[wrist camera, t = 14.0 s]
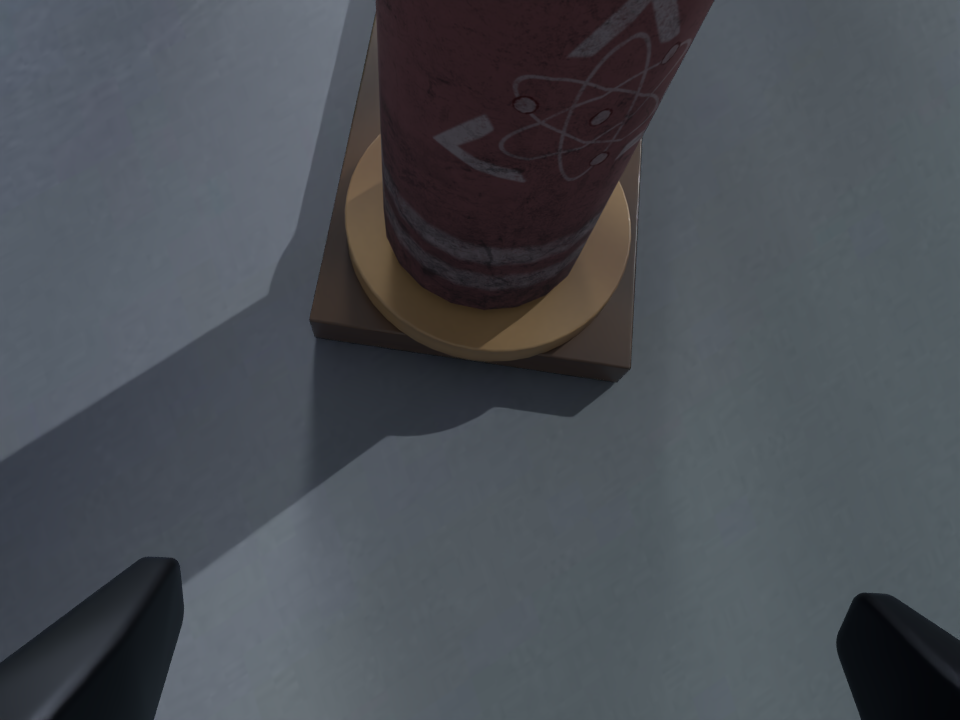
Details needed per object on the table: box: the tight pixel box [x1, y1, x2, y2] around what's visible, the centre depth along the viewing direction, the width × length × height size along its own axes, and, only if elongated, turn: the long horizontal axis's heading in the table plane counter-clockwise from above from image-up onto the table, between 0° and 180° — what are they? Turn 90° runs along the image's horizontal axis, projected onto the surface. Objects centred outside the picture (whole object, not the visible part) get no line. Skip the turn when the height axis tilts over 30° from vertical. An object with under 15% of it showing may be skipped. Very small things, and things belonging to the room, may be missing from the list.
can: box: [376, 0, 714, 310], centre depth 15 cm, size 6×6×14 cm
